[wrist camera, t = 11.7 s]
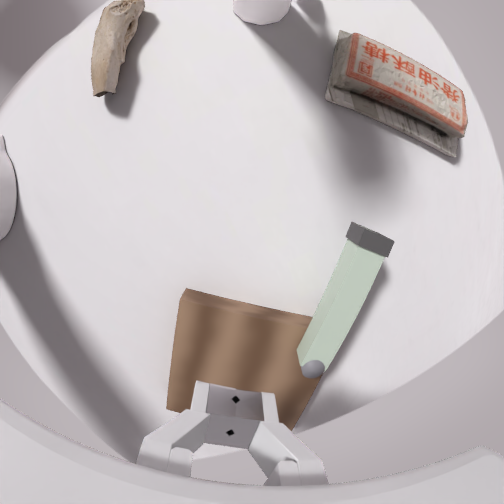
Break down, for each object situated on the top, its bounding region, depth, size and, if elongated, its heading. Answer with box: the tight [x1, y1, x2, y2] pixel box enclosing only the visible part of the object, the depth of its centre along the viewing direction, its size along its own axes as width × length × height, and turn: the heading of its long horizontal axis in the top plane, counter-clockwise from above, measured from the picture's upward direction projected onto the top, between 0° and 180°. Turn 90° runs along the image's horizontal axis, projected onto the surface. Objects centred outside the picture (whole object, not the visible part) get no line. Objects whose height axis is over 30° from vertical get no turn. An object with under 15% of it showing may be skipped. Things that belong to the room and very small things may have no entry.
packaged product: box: [325, 30, 468, 158], centre depth 23 cm, size 18×5×10 cm
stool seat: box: [166, 288, 323, 431], centre depth 32 cm, size 18×18×3 cm
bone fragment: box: [91, 0, 145, 97], centre depth 22 cm, size 14×6×5 cm, turn 173°
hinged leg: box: [297, 222, 394, 378], centre depth 26 cm, size 16×3×3 cm, turn 161°
